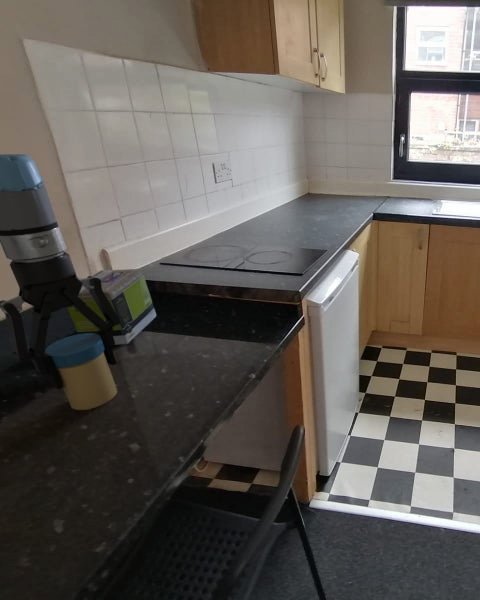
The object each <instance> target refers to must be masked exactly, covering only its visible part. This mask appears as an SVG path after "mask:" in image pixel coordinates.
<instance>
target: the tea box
mask: <svg viewBox="0 0 480 600" xmlns="http://www.w3.org/2000/svg"><path fill="white" fill-rule="evenodd" d="M92 276H93V277H96V278H99V279H100V280H101V285H102V291H103V292H104V294H105V296H106V297H107V299H108V301H109V302H110V304H111V306H112V307H113V309H114V311H115V313H116V314H117V316H118V318H119V319H120V324H119V325H115V326H114V327H113V329H114V330H113V332H112V335H113V338H114V340H115V345H114V346H116V345H117V346H118V345H127V344H129V343H130V342H131V341H132V340H133V339H134V338H136V336H138V335H139V334H140V333H141V332H142V331H143V330H144V329H145V328H146V327H147V326H148V325H149V324H150V323H152V321H154V319H155V318H157V313H156V308H155V307H154V303H153V299H152V296H151V293H150V289H149V287H148V284H147V281H146V278H145V275H144V272H143V269H142V268H128V269H107V270H106V269H105V270H103V269H102V270H99V271H98V272H96V273H95V274H93V275H92ZM78 297H79V298H80V299H81V300H82V301H84V302H85V303H86V305H87V306H88V307H89V308H91V309H92V310H93V311H94V312H95V313H96V314H97V315H98V316H99V317H100V318H102V319H103V320H104V321H106V318H105V317H104V315H103V313H102V312H101V310H100V309H99V307H98V305H97V304H96V302H95V300H94V299H93V297H92V295H91V294H90V292H89V290H88V289H86V288H85V287H84V286H83V285H82V288H81V290H80V292H79V295H78ZM66 309H67V311H68V312H69V315H70V318H71V320H72V322H73V324H74V327H75V330H76V332H77V334H84V333H95V332H96V331H98V330H99V331H100V329H99V328H97V327H96V326H95V325H94V324H93V323H92V322H90V321H89V320H88V319H87V318H86V317H85V316H84V315H82V314H81V313H80V312H79V311H78V310H77V309H76V308H74V307H73V306H70V307H66Z"/></svg>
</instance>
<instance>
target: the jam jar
mask: <svg viewBox="0 0 480 600" xmlns="http://www.w3.org/2000/svg"><path fill="white" fill-rule="evenodd" d="M55 368H56V371H57V373H58V375H59V378H60V380H61V382H62V385H63V388H62V390H63V392H64V395H65V398H66V399H67V402H68V404H69V406H70V408H71V409H73V410H76V411H86V410H91V409H95V408H98V407H101V406H104V405H105V404H107V403H108V402H110V401H112V399H114V398H115V397H116V396H117V393H118V388H117V385H116V382H115V380H114V376H113V374H112V371H111V368H110V364H109V363H108V362H107V360H106V357H105V354H104V351H103V353H102V354H101V355H99V356H98V357H96V358H95V359H93V360H91V361H88V362H86V363H83V364H80V365H76V366H71V367H61V368H60V367H55Z"/></svg>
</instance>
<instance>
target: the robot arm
mask: <svg viewBox="0 0 480 600" xmlns="http://www.w3.org/2000/svg"><path fill="white" fill-rule="evenodd" d="M55 214H56V213H55V212H54V209H53V206H52V203H51V201H50V197H49V194H48V192H47V188H46V185H45V180H44V178H43V176H42V175H41V173H40V171H39V168H38V166H37V164H36V162H35V160H34V159H33V158H32V157H31V156H29V155H27V154H24V153H15V154H13V153H8V154H7V153H3V154H2V153H1V154H0V246H1V248H2V250H3V253H4V256H5V258H6V259H8V260H9V261H10V263H9V267H10V269H11V272H12V274H13V276H14V279H15V282H16V283H17V285H18V288H19V291H18V295H17V296H15V297H13V298H11V299H8V300H4V299H1V300H0V310H1V311H2V312H3V314H4V315H5V320H6V325H7V330H8V331H7V332H8V336H9V337H8V338H9V341H10V347H11V352H12V356H13V357H14V358H16V359H18V360H19V361H21V362H25V361H28V360H31V361H32V363H33V365H34V367H35V370H36V372H37V373H39V374H41V375H42V376H45V375H46V376H47V379H48V380H49V382H50V385H51V386H52V387H53V388H55V389H57V390H61V389H63V385H62V382H61V380H60V378H59V375H58V373H57V371H56V368H55V366H54V364H53V361H52V359H51V356H50V355H48V354H46V353H45V349H46V348H45V347H46V341H47V335H48V329H49V322H50V319H51V318H52V317H51V316H52V313H55V312H57V311H59V310H61V309H65V308H66V309H67V307H70V306H73V307H74V308H76V309H77V310H78V311H79V312H80V313H81V314H82V315H84V316H85V317H86V318H87V319H88V320H89V321H90V322H92V323H93V324H94V325H95V326H96V327H97V328H99V329H100V331H99V330H98V331H96V332H95V334H98V335H100V336H101V339H102V341H103V344H104V347H105V349H104V354H105V357H106V360H107V362H108V365H111V366H114V365H116V364H117V360H116V357H115V354H114V352H113V348H112V347H114V346H116V345H115V340H114V338H113V335H112V332H113V330H114V329H113V327H114V326H115V325H119V324H120V319H119V318H118V316H117V314H116V313H115V311H114V309H113V307H112V306H111V304H110V302H109V301H108V299H107V297H106V296H105V294H104V292H103V291H102V285H101V280H100V279H99V278H96V277H93V275H88V276H87V277H84V278H80V277H79V276H77V273H76V269H75V267H74V264H73V261H72V259H71V255H70V253H68V252H66V250H67V245H66V243H65V242H66V241H65V240H64V237H63V234H62V232H61V229H60V226H59V223H58V221H57V218H56V217H57V216H56V215H55ZM82 285H83V286H84V287H85V288H86V289H88V290H89V292H90V294H91V295H92V297H93V299H94V300H95V302H96V304H97V305H98V307H99V309H100V310H101V312H102V313H103V315H104V317H105V318H106V321H104V320H103V319H102V318H100V317H99V316H98V315H97V314H96V313H95V312H94V311H93V310H92V309H91V308H89V307H88V306H87V305H86V303H85V302H84V301H82V300H81V299H80V298H79V297H78V295H79V292H80V290H81V288H82ZM25 303H26V304H28V305H30V306H32V322H31V328H30V335H29V341H28V343H27V339H26V333H25V327H24V322H23V318H22V317H23V316H22V314H21V312H22V311H23V304H25Z"/></svg>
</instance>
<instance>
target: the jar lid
mask: <svg viewBox="0 0 480 600" xmlns="http://www.w3.org/2000/svg"><path fill="white" fill-rule="evenodd" d="M104 349H105V347H104V344H103V341H102V339H101V336H100V335H98V334H95V333H84V334H78V333H77V334H73V335H70V336H66V337H64V338H63V337H62V338H60V339H58V340H56V341H54V342H52V343H51V344H49V345H48V346H47V347H46V348H44V352H45V353H46V354H48V355H50V356H51V359H52V361H53V364H54V366H55V367H60V368H61V367H71V366H76V365H80V364H83V363H86V362H88V361H91V360H93V359H95V358H96V357H98V356H99V355H101V354H102V353H103V351H104Z"/></svg>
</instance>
